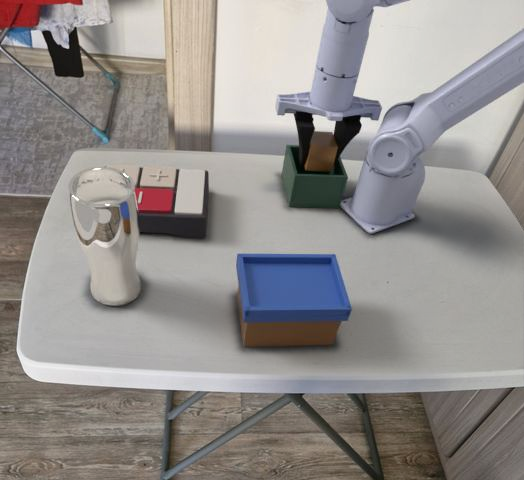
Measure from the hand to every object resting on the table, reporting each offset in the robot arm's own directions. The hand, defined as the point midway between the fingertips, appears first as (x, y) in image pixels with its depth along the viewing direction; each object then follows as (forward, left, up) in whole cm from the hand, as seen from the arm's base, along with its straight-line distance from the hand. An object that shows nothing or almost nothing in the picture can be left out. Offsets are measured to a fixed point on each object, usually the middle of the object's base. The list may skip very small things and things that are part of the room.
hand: (316, 161), depth 79 cm
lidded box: (+19, +20, -5) cm, 28 cm away
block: (0, 0, 0) cm, 0 cm away
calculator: (+24, -6, -6) cm, 25 cm away
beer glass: (+35, +6, -6) cm, 36 cm away
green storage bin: (0, 0, -5) cm, 5 cm away
